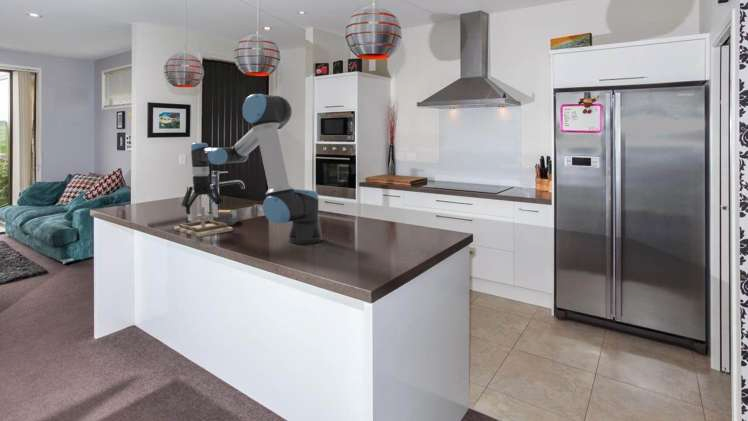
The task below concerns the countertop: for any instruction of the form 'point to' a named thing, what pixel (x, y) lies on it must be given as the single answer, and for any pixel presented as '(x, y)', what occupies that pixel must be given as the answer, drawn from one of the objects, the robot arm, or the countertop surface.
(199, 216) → the pipe connector
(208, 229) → the pallet
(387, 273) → the countertop surface
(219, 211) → the button
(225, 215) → the button housing
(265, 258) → the countertop surface
